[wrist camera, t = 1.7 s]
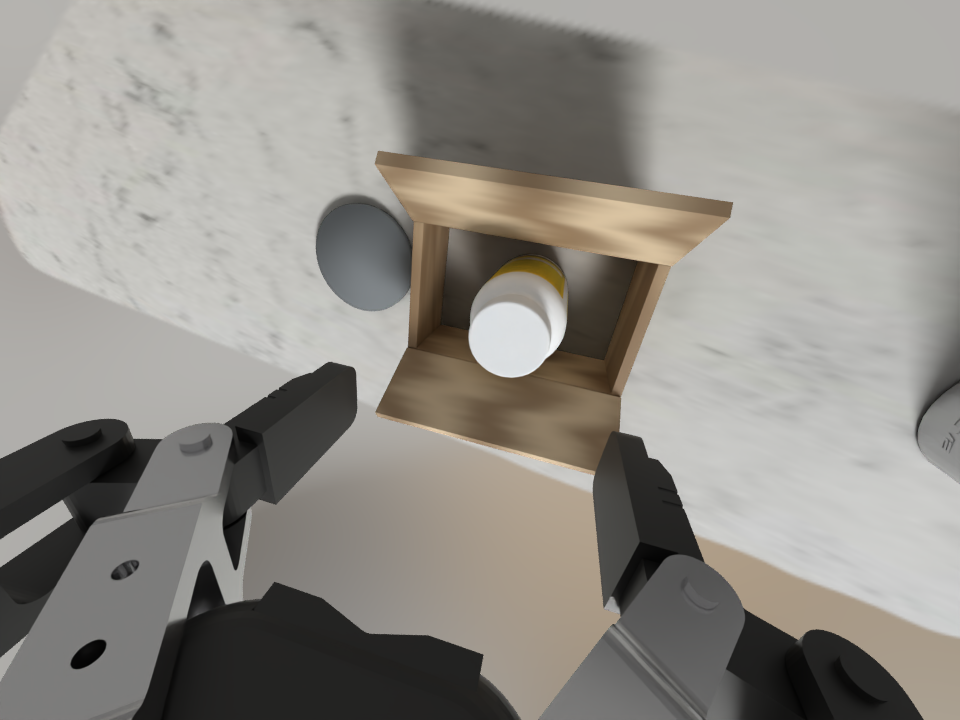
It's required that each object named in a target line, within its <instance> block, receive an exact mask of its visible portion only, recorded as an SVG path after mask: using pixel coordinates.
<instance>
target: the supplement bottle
mask: <svg viewBox="0 0 960 720" xmlns="http://www.w3.org/2000/svg"><path fill="white" fill-rule="evenodd" d="M567 309H568V285H567V281H566V278H565V275H564V274H563V272H562V270H561V269H560V268H559V267H558V266H557V265H556V264H555V263H554V262H553V261H551V260H550V259H548V258H546V257H543V256H540V255H534V254H528V255H522V256H519V257H516V258H514V259H512V260H510V261H508V262H507V263H506V264H504V265H503V266H502V267H501V268H500V269H499V270H498V271H497V272H496V273H495V274H494V275H493V276H492V277H491V278H490V279H489V280H488V281H487V283H486V284H485V285H484V286H483V287H482V288H481V289H480V291H479V292H478V294H477V295H476V297H475V299H474V301H473V304H472V307H471V312H470V328H469V345H470V349H471V352H472V354H473V356H474V357H475V359H476V360H477V362H478V363H479V364H480V365H481V366H482V367H484V368H485V369H486V370H488V371H489V372H491V373H493V374H495V375H498V376H502V377H510V378H512V377H520V376H524V375H527V374H529V373H531V372H533V371H534V370H536V369H537V368H538V367H539V366H540V365H541V364H542V363H543V361H544V360H545V359H546V358H547V357H548V356H550V355H551V354H552V353H553V352H554V351H555V350H556V349H557V347H558V346H559V345H560V343H561V341H562V339H563V337H564V334H565V330H566V324H567Z"/></svg>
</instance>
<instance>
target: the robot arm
mask: <svg viewBox="0 0 960 720" xmlns="http://www.w3.org/2000/svg"><path fill="white" fill-rule="evenodd" d="M356 413H357V385H356V371H355V369H354V368H353V367H350V366H346V365H342V364H338V363H333V362H328V363H326V364H325V365H323V366H322V367H320V368H319V369H317V370H316V371H314V372H313V373H308V374H305V375H302V376H300V377H297V378H294V379H292V380H290V381H289V382H287V383H286V384H284V385H283V386H281V387H280V388H279V390H275V391H274V392H272V393H271V394H269V395H268V397H264V398H263V399H262V400H260V401H259V402H257V403H255V404H254V405H252V406H251V407H249V408H248V409H246V410H245V411H243V412H242V413H240V414H239V415H237V416H236V417H234V418H232V419H231V420H229V421H228V422H226V423H225V424H220V423H202V424H196V425H192V426H188V427H185V428H182V429H180V430H177V431H175V432H173V433H171V434H170V435H168V436H167V437H165V438H164V439H133V437H132V435H131V432H130V430H129V428H128V425H127V424H126V423H125V422H123V421H120V420H116V419H99V420H92V421H86V422H83V423H78V424H75V425H72V426H69V427H66V428H64V429H61V430H59V431H57V432H55V433H53V434H51V435H49V436H47V437H44V438H42V439H40V440H38V441H36V442H34V443H32V444H30V445H28V446H26V447H24V448H22V449H20V450H18V451H16V452H13V453H12V454H9V455H7V456H5V457H3V458H1V459H0V539H1V538H3V537H4V536H6V535H7V534H9V533H10V532H12V531H14V530H15V529H17V528H18V527H20V526H22V525H23V524H25V523H26V522H28V521H29V520H31V519H33V518H34V517H36V516H37V515H39V514H40V513H42V512H44V511H45V510H47V509H48V508H50V507H51V506H53V505H54V504H56V503H58V502H59V501H61V500H63V501H64V503H65V504H66V506H67V508H68V510H69V511H70V513H71V515H72V516H73V518H72V519H70V520H69V521H67V522H66V523H65V524H63V525H61V526H60V527H59V528H57V529H56V530H54V531H53V532H51V533H50V534H48V535H47V536H46V537H44V538H43V539H41V540H40V541H39V542H37V543H35V544H34V545H32V546H31V547H29V548H28V549H26V550H25V551H24V552H22V553H21V554H19V555H18V556H16V557H15V558H13V559H12V560H10V561H9V562H7V563H6V564H5V565H3V566H2V567H0V657H1V656H2V655H4V654H5V653H6V652H7V651H8V650H10V649H11V648H12V647H13V646H14V645H15V644H16V643H18V642H19V641H20V640H21V639H22V638H24V637H25V636H26V635H27V634H28V635H27V637H26V638H25V640H24V642H23V644H22V645H21V647H20V649H19V650H18V652H17V654H16V656H15V657H14V659H13V661H12V663H11V664H10V666H9V668H8V669H7V671H6V673H5V675H4V676H3V678H2V680H1V682H0V720H521V719H520V717H519V716H518V714H517V712H516V711H515V710H514V708H513V707H512V706H511V704H510V703H509V702H508V700H507V699H506V698H505V696H504V695H503V694H502V693H501V692H500V691H499V690H498V689H497V688H496V687H495V686H494V685H493V684H492V683H491V682H490V681H489V680H487V679H486V678H485V677H483V676H482V675H481V674H480V671H481V665H482V659H483V654H480V653H477V652H474V651H471V650H468V649H466V648H463V647H460V646H457V645H454V644H451V643H449V642H445V641H443V640H440V639H437V638H434V637H431V636H426V635H389V634H369V633H366V632H364V631H362V630H361V629H360V628H358V627H357V626H356V625H355V624H353V623H352V622H351V621H350V620H348V619H347V618H346V617H345V616H344V615H342V614H341V613H340V612H339V611H337V610H336V609H335V608H334V607H332V606H331V605H330V604H329V603H327V602H326V601H325V600H324V599H322V598H320V597H317V596H313V595H311V594H308V593H305V592H302V591H299V590H297V589H294V588H291V587H288V586H285V585H282V584H279V583H276V582H274V583H273V585H272V586H271V587H270V589H269V590H268V591H267V592H266V594H265V595H264V596H263V598H262V599H255V600H245V601H243V591H242V583H243V573H244V566H245V559H246V553H247V545H248V539H249V532H250V525H251V518H252V511H251V506H252V505H253V504H254V503H255V502H256V501H257V500H258V499H260V500H263V501H266V502H269V503H273V504H277V503H278V502H279V501H280V500H281V499H282V498H283V497H284V496H285V495H286V493H288V491H289V490H290V489H291V488H292V487H293V486H294V485H295V484H296V483H297V482H298V481H299V480H300V479H301V478H302V477H303V476H304V475H305V474H306V473H307V471H308V470H309V469H310V468H311V467H312V466H313V465H314V464H315V463H316V462H317V461H318V460H319V459H320V458H321V457H322V456H323V455H324V453H325V452H326V451H327V450H328V449H329V448H330V447H331V446H332V445H333V444H334V443H335V442H336V441H337V440H338V439H339V438H340V437H341V436H342V435H343V433H344V432H345V431H346V430H347V429H348V428H349V427H350V426H351V424H352V423H353V421H354V419H355V417H356ZM918 443H919V446H920V449H921V452H922V453H923V455H924V456H925V457H926V458H927V460H928V461H929V462H930V463H932V464H933V465H935V466H936V467H937V468H939V469H940V470H941V471H943V472H944V473H945V474H947V475H948V476H949V477H951V478H952V479H954V480H955V481H956V482H958V483H959V484H960V382H959V383H958V384H956V385H955V386H953V387H952V388H950V389H949V390H948V391H946V392H945V393H944V394H943V395H942V396H940V397H939V398H938V399H937V400H936V401H935V402H934V403H933V404H932V405H931V407H930V408H929V409H928V411H927V412H926V414H925V415H924V416H923V418H922V421H921V424H920V426H919V429H918ZM593 499H594V510H595V520H596V531H597V542H598V552H599V563H600V574H601V584H602V595H603V606H604V609H605V610H608V611H612V612H615V613H618V614H620V616H621V618H620V619H619V620H618V621H617V623H616V624H615V625H614V624H613V625H612V626H610V628H609V629H608V630H607V631H606V632H605V634H604V635H603V636H602V638H601V639H600V640H599V641H598V643H597V644H596V645H595V647H594V648H593V649H592V650H591V652H590V653H589V654H588V656H587V657H586V658H585V660H584V661H583V662H582V663H581V665H580V666H579V667H578V669H577V670H576V671H575V673H574V674H573V675H572V676H571V678H570V679H569V680H568V682H567V683H566V684H565V685H564V687H563V688H562V689H561V691H560V692H559V693H558V695H557V696H556V697H555V699H554V700H553V701H552V702H551V704H550V705H549V706H548V708H547V709H546V710H545V711H544V713H543V714H542V716H541V717H540V718H539V719H538V720H923V718H922V716H921V715H920V713H919V712H918V710H917V709H916V707H915V706H914V704H913V703H912V701H911V700H910V698H909V697H908V695H907V694H906V693H905V691H904V690H903V688H902V687H901V686H900V685H899V684H898V683H897V681H896V680H895V679H894V678H893V677H892V676H891V675H890V674H889V673H888V672H887V671H886V670H885V669H884V668H883V667H882V666H881V665H880V664H879V663H878V662H877V661H876V660H875V659H873V658H872V657H871V656H870V655H868V654H867V653H866V652H864V651H863V650H862V649H860V648H859V647H858V646H856V645H855V644H853V643H851V642H850V641H848V640H846V639H844V638H842V637H840V636H839V635H836V634H834V633H831V632H828V631H824V630H817V629H816V630H810V631H808V632H806V633H805V634H804V635H803V636H802V637H801V638H800V639H799V640H797V639H795V638H794V637H792V636H790V635H788V634H787V633H785V632H783V631H781V630H780V629H778V628H776V627H774V626H773V625H771V624H769V623H767V622H766V621H764V620H762V619H760V618H758V617H757V616H755V615H753V614H752V613H750V612H748V611H747V610H745V609H744V608H743V606H742V604H741V601H740V599H739V597H738V596H737V594H736V592H735V591H734V589H733V588H732V587H731V585H730V584H729V583H728V582H727V581H726V580H725V579H724V578H723V577H722V576H721V575H720V574H719V573H718V572H717V571H715V570H714V569H713V568H711V567H710V566H709V565H707V564H705V562H704V559H703V557H702V554H701V552H700V549H699V546H698V544H697V541H696V539H695V536H694V533H693V531H692V528H691V526H690V523H689V520H688V518H687V515H686V513H685V510H684V509H682V506H683V505H682V502H681V500H680V497H679V495H677V489H676V487H675V484H674V481H673V479H672V476H671V475H670V474H669V472H668V471H667V470H666V469H665V468H664V466H663V465H662V464H661V463H660V462H659V461H658V460H656V459H652V458H648V455H647V452H646V449H645V446H644V443H643V440H642V438H641V437H637V436H633V435H629V434H625V433H621V432H616V431H612V432H611V434H610V436H609V438H608V441H607V443H606V446H605V448H604V451H603V454H602V456H601V459H600V461H599V464H598V466H597V469H596V472H595V476H594V481H593Z"/></svg>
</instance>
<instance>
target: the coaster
mask: <svg viewBox="0 0 960 720" xmlns="http://www.w3.org/2000/svg"><path fill="white" fill-rule="evenodd" d="M316 254H317V260H318V264H319V267H320V270H321V273H322V275H323V277H324V279H325V281H326V282H327V284H328V285H329V287H330V288H331V289H332V291H333V292H334V293H335V294H336V295H337V296H338V297H339V298H341V299H342V300H343V301H344V302H346V303H347V304H349V305H351V306H353V307H355V308H358V309H361V310H366V311H380V310H384V309H387V308H389V307H391V306H393V305H394V304H396V303H397V302H399V301H400V300H401V299H402V298H403V297H404V296H405V295H406V293H407V292H408V290H409V288H410V286H411V272H412V248H411V245H410V242H409V240H408V238H407V236H406V234H405V232H404V231H403V229H402V228H401V227H400V225H399V224H398V223H397V222H396V221H395V220H394V219H393V218H392V217H391V216H390V215H388V214H387V213H386V212H384V211H382V210H381V209H379V208H377V207H374V206H371V205H367V204H347V205H343V206H340V207H338V208H336V209H334V210H333V211H331V212H330V213H329V214H328V215H327V216H326V218H325V219H324V220H323V222H322V224H321V226H320V228H319V231H318V234H317V240H316Z"/></svg>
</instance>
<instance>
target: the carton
mask: <svg viewBox="0 0 960 720" xmlns="http://www.w3.org/2000/svg"><path fill="white" fill-rule="evenodd" d="M375 165H376V167H377V168H378V170H379V171H380V173H381V174H382V176H383V177H384V179H385V180H386V182H387V183H388V185H389V186H390V188H391V189H392V191H393V192H394V193H395V195H396V196H397V198H398V199H399V201H400V202H401V204H402V205H403V207H404V208H405V210H406V211H407V213H408V214H409V216H410V217H411V219H412V220H413V221H414V228H413V250H412V272H411V293H410V315H409V337H408V348H407V349H406V351H405V353H404V355H403V357H402V359H401V361H400V363H399V365H398V367H397V369H396V371H395V373H394V375H393V377H392V379H391V381H390V383H389V385H388V387H387V389H386V391H385V393H384V395H383V397H382V400H381V402H380V404H379V406H378V408H377V410H376V415H377V416H378V417H381V418H385V419H389V420H392V421H396V422H400V423H404V424H407V425H411V426H414V427H418V428H422V429H425V430H429V431H433V432H437V433H440V434H444V435H448V436H451V437H455V438H459V439H462V440H466V441H470V442H474V443H477V444H481V445H485V446H488V447H492V448H496V449H499V450H503V451H507V452H510V453H514V454H518V455H522V456H525V457H529V458H533V459H536V460H540V461H544V462H547V463H551V464H555V465H558V466H562V467H566V468H570V469H573V470H577V471H581V472H584V473H588V474H592V475H595V472H596V469H597V466H598V464H599V461H600V459H601V456H602V454H603V451H604V448H605V446H606V443H607V441H608V438H609V436H610V434H611V432H612V431H616V432H619V428H620V409H621V398H620V397H621V395H622V392H623V390H624V387H625V384H626V382H627V379H628V377H629V374H630V371H631V369H632V366H633V364H634V361H635V358H636V356H637V353H638V351H639V348H640V345H641V343H642V340H643V338H644V335H645V333H646V330H647V327H648V325H649V322H650V320H651V317H652V314H653V312H654V309H655V307H656V304H657V301H658V299H659V296H660V294H661V291H662V289H663V286H664V283H665V281H666V278H667V276H668V273H669V270H670V268H671V266H673V265H674V264H675V263H677V262H678V261H679V260H680V259H681V258H683V257H684V256H685V255H686V254H687V253H689V252H690V251H691V250H692V249H693V248H695V247H696V246H697V245H698V244H699V243H701V242H702V241H703V240H704V239H705V238H707V237H708V236H709V235H710V234H711V233H713V232H714V231H715V230H716V229H717V228H718V227H720V226H721V225H722V224H723V223H724V222H726V221H727V220H728V219H729V218H730V215H731V210H732V205H733V202H726V201H719V200H712V199H705V198H699V197H692V196H685V195H678V194H671V193H664V192H657V191H650V190H644V189H637V188H630V187H623V186H616V185H609V184H602V183H596V182H589V181H582V180H575V179H568V178H561V177H554V176H548V175H541V174H534V173H527V172H520V171H513V170H506V169H500V168H493V167H486V166H479V165H472V164H465V163H458V162H452V161H445V160H438V159H431V158H424V157H417V156H410V155H403V154H397V153H390V152H383V151H378V153H377V157H376V161H375ZM449 228H455V229H460V230H466V231H472V232H478V233H483V234H489V235H495V236H500V237H506V238H512V239H517V240H523V241H529V242H534V243H540V244H546V245H551V246H557V247H563V248H568V249H574V250H580V251H586V252H591V253H597V254H603V255H608V256H614V257H620V258H625V259H631V260H637V261H638V262H637V265H636V268H635V271H634V274H633V277H632V280H631V283H630V286H629V289H628V292H627V295H626V297H625V300H624V303H623V306H622V309H621V312H620V315H619V318H618V321H617V324H616V327H615V330H614V333H613V336H612V339H611V342H610V344H609V347H608V350H607V353H606V356H605V359H604V360H600V359H595V358H591V357H586V356H582V355H577V354H573V353H568V352H564V351H559V350H555V351H554V352H553V353H552V354H551V355H550V356H548V357H547V358H546V359H545V360H544V361H543V363H542V364H541V365H540V366H539V367H538V368H537V369H536V370H534V371H533V372H531V373H529V374H527V375H524V376H520V377H512V378H510V377H502V376H498V375H495V374H493V373H491V372H489V371H488V370H486V369H485V368H484V367H482V366H481V365H480V364H479V363H478V362H477V360H476V359H475V357H474V356H473V354H472V352H471V349H470V345H469V330H464V329H459V328H455V327H450V326H446V325H441V316H442V305H443V294H444V283H445V272H446V261H447V250H448V239H449Z"/></svg>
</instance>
